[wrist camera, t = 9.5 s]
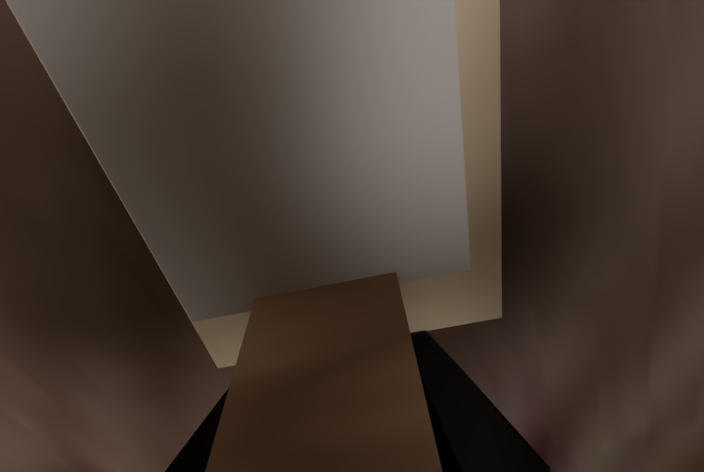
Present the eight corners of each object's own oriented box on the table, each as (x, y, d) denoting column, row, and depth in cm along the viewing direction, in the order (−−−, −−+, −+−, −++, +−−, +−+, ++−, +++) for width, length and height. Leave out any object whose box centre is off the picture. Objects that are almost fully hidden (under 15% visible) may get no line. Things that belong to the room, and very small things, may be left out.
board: (459, -794, 4) (491, -1001, 3) (490, 296, 12) (502, 317, 11) (-238, -519, 5) (-361, -635, 4) (225, 344, 13) (217, 368, 12)
